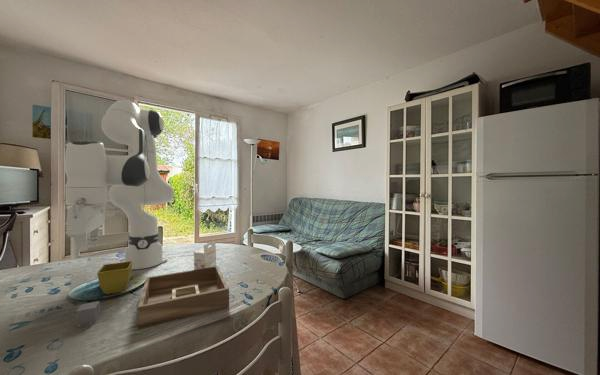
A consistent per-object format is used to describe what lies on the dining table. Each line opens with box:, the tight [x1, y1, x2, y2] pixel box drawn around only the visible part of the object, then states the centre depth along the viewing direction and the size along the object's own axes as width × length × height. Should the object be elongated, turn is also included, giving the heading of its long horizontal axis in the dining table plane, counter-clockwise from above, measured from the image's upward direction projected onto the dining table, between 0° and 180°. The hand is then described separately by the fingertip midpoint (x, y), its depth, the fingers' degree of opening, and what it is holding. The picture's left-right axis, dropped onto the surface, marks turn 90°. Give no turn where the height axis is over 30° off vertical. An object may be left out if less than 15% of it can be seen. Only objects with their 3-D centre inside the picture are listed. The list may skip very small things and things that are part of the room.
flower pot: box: [97, 261, 133, 295], centre depth 85 cm, size 9×9×9 cm
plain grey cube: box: [75, 300, 101, 327], centre depth 67 cm, size 4×4×4 cm
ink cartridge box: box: [193, 240, 217, 270], centre depth 98 cm, size 9×5×15 cm, turn 168°
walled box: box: [137, 265, 230, 330], centre depth 79 cm, size 22×24×6 cm
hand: (88, 246), depth 67 cm, fingers open, 8 cm apart
